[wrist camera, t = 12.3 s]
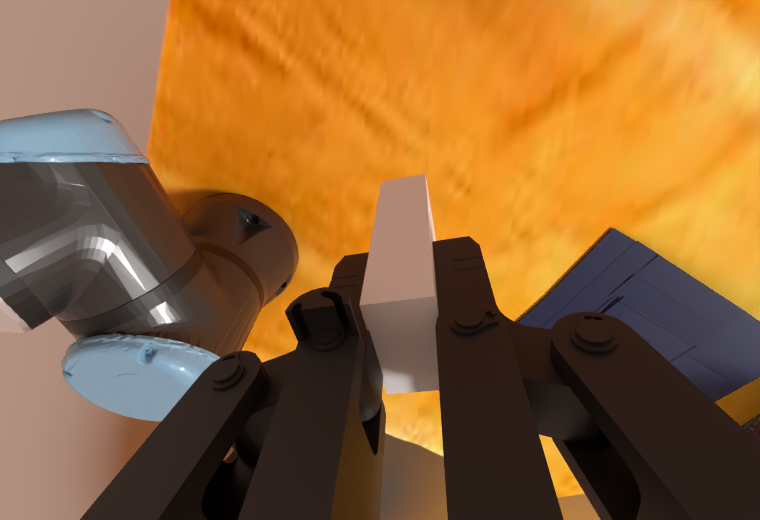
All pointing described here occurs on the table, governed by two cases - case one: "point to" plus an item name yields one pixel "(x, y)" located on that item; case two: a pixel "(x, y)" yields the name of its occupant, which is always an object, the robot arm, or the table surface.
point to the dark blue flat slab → (661, 313)
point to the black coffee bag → (753, 428)
